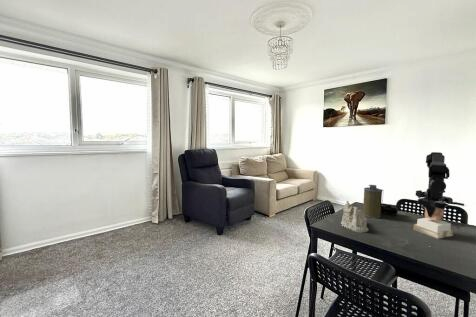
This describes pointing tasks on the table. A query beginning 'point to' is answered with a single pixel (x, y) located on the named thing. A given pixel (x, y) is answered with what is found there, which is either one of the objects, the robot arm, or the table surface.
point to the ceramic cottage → (354, 218)
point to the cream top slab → (434, 224)
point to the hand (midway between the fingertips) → (433, 216)
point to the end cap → (389, 210)
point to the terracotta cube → (435, 214)
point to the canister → (372, 201)
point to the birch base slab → (433, 232)
